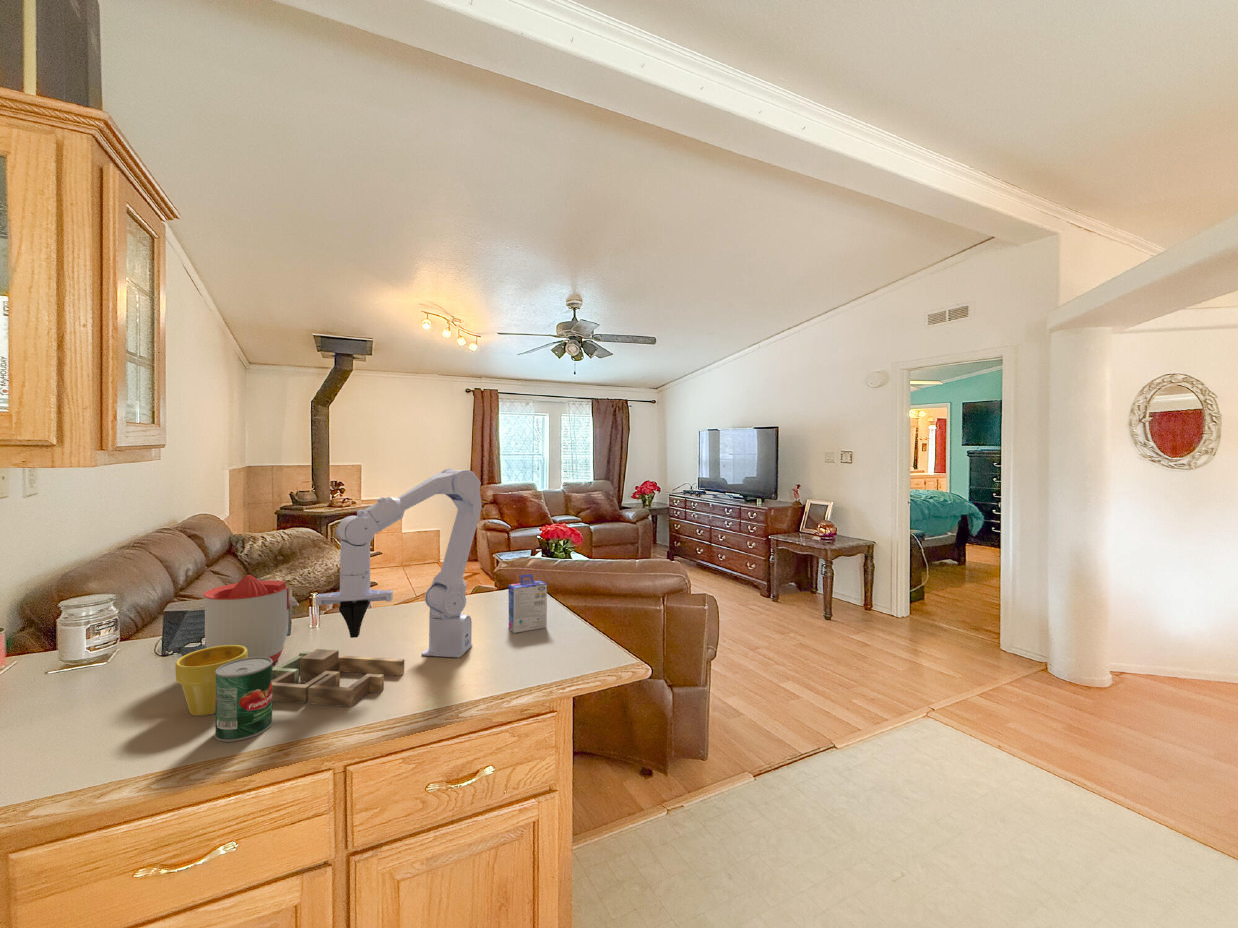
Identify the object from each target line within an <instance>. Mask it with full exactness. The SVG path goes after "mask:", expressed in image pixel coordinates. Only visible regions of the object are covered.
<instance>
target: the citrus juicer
mask: <svg viewBox="0 0 1238 928" xmlns="http://www.w3.org/2000/svg"><path fill="white" fill-rule="evenodd" d="M286 583H287V582H286V581H283V580H275V579H274V580H273V579H272V580H271V579H269V580H268V579H267V580H266V579H265V580H259V579H258V578H256V577H254V576H253V575H251V574H247V575H246V576H244V577H243V578H242V579H241V580H240V581H238V582H236V583H229V584H226V585H225V584H224V585H220V586H216V587H214V588H211V589H208V590H206V591H205V592H204V593H203V597H204V641H205V645H206V647H205V648H210V647H215V646H223V645H240V646H244V647H246V648H247V652H248V658H250V657H268V658H271V659H272V661H273V663H272V664H274V663H275V662H277V661H278V660H279V658H280V657H281V654H282V652H283V650H284V647H285V646H284V645H285V642H286V640H287V635H288V631H289V609H290V607H299V603H298V601H297V600H296V598H295V597H293V596H291V595H289V593H290V592H289V589H290V588H289V586H287V584H286Z"/></svg>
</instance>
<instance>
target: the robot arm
mask: <svg viewBox="0 0 1238 928" xmlns="http://www.w3.org/2000/svg"><path fill="white" fill-rule="evenodd" d="M481 484H482V482H481V481H480V479H479V478H478V476H477V475H476V474H475V472H474V471H472V470H469V469H452V468H446V469H444V470H442V471H441V472H438V473H435V474H433V475H431V476H430V477H428V478H427V479H425V480H424V481H423V482H421V483H419V484H418V485H416V486H414V487H413V488H411V489H409V490H407V491H406V492H404V493H403V494H401V495H399V496H398V497H393V496H386V497H384V496H381V497H379V498H378V499H376V501H377V502H376V503H374V504H372V505H370V506H368V507H366V508H365V509H359V510H357V511H356V513H357V515H348V516H345V517H344V518H342V519H341V520H340V523H338V524H337V528H336V529H335V534H336V537H337V538H338V539H339V540H340V541H339V542H340V549H339V550H340V552H339V591H335V592H329V593H318V594H317V595H316V596H315V606H322V605H333V604H334V605H335V604H336V605H337V604H339V607H338V611H339V612H340V614H341V616H342V617H343V619H344V620H345V621H344V622H345V624H346V626H347V629H348V632H349V637H350V638H351V639H353V638H354V639H356V638H358V637H359V636H360V632H361V627H362V623H363V619H364V618H365V614H366V613H367V610H368V608H369V606H370V604H371V602H382V601H383V602H392V600H393V597H394V592H393V591H394V590H393V589H389V590H388V589H386V590H385V589H383V590H382V589H371V545H370V544H371V542H372V541H373V539H374V538H375V535H376V534H378V533H379V532H382V531H383V530H384V529H387V528H389V527H390V526H392V525H393V524H395V523H397V522H398V521H400V520H401V519H403V517H404V516H405V512H406V511H407V510H408V509H410V508H412V507H414V506H416V505H419V504H420V503H422V502H424V501H426V500H427V499H430V498H431V497H434V496H435V495H445V496H447V497H448V498H449V499H451V501H452V503H453V504H454V505H455V507H456V509H457V511H456V515H455V519H454V522H453V526H452V530H451V533H450V537H449V540H448V544H447V547H446V552H445V555H444V558H443V562H442V565H441V569H440V572H439V573H437V574H436V576H434V577H433V580H432V583H431V585H430V586H429V588H428V589H427V590H426V592H425V595H424V602H425V604H426V606H427V607H428V608H429V615H428V616H429V617H428V618H429V620H428V623H429V624H428V625H429V626H428V631H429V632H428V647H427V649H425V650H424V651H422V653H421V656H428V657H444V658H461V657H462V656H464V654H465V653H466V652H468V650H469V649H471V647H473V643H472V631H473V630H472V627H473V625H472V624H473V622H472V617H471V616H470V615H468V614H464V613H463V611H464V609H465V607H466V604H467V598H466V597H467V596H466V593H467V592H466V591H467V583H466V580H465V579H464V574H465V571H466V567H467V564H468V559H469V555H470V553H471V548H472V545H473V541H474V538H475V533H476V530H477V526H478V523H479V518H480V515H481V511H482V508H483V507H482V506H483V505H482V503H483V502H482V497H481V491H480V489H481Z"/></svg>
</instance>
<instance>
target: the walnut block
mask: <svg viewBox="0 0 1238 928" xmlns="http://www.w3.org/2000/svg"><path fill="white" fill-rule="evenodd" d="M310 652H311V653H309V654H307V655H305V656H303V657H302V658H300V672H299V683H301V682H302V683H307V682H309V681H310V680H312V679H314V678H315V677H317V676H319V675H320V674H322V673H323V672H325V671H335V672H340V671H339V655H340V654H339V653H340V651H339V650H338V649H324V648H323V649H321V648H316V649H315V650H313V651H310Z"/></svg>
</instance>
